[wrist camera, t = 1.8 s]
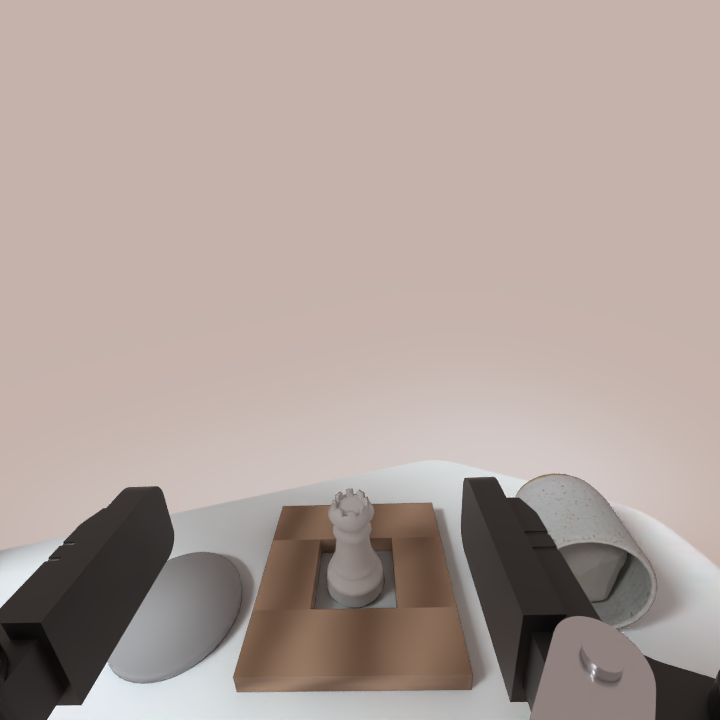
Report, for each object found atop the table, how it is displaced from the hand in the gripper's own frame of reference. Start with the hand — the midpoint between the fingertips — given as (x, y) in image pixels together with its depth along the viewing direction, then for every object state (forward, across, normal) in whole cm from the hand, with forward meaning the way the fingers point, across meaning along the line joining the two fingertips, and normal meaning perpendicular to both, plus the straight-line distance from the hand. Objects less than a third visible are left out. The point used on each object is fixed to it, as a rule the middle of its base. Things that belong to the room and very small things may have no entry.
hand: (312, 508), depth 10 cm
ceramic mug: (+13, -14, +19) cm, 28 cm away
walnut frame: (+13, 0, +19) cm, 23 cm away
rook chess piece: (+13, 0, +19) cm, 23 cm away
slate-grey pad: (+11, +13, +19) cm, 26 cm away
